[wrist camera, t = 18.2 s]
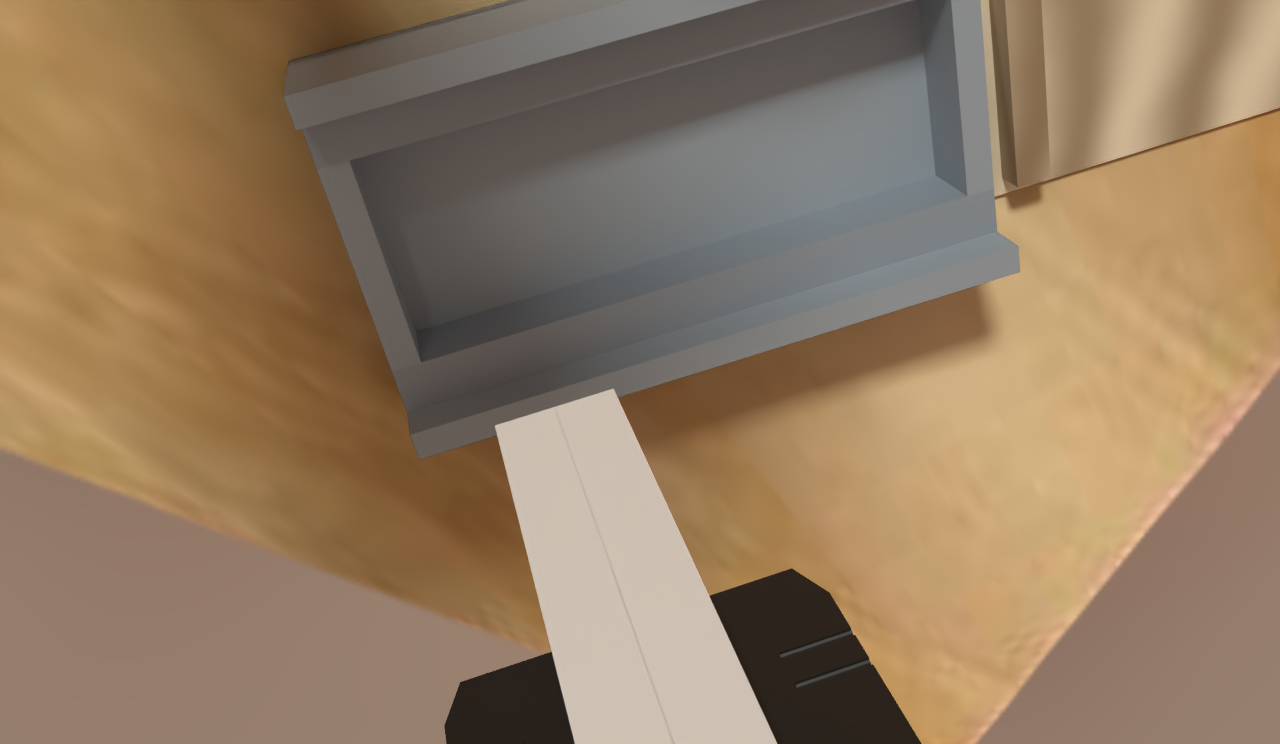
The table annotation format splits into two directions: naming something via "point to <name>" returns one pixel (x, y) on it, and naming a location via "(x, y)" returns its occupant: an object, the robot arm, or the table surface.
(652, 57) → the pencil box
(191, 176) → the table surface
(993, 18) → the lid
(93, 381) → the table surface
